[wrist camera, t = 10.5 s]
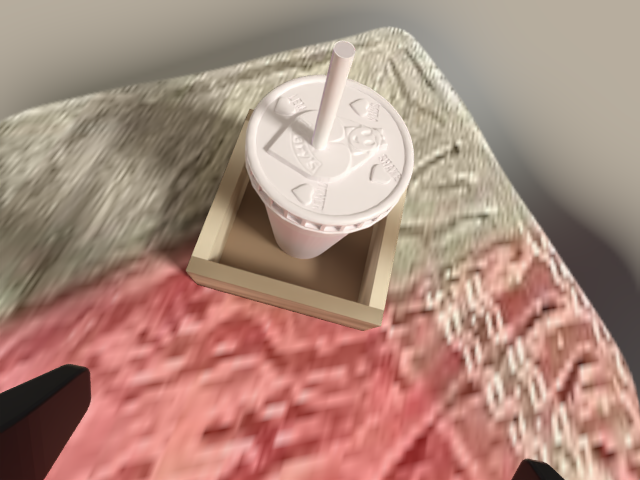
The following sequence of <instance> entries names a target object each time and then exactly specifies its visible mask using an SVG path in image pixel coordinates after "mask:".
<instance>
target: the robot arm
mask: <svg viewBox="0 0 640 480" xmlns="http://www.w3.org/2000/svg"><path fill="white" fill-rule="evenodd" d="M90 401H91V382H90V371H89V369H88V368H86V367H82V366H78V365H73V364H66V365H63V366H61V367H59V368H56V369H54V370H52V371H50V372H47V373H45V374H43V375H41V376H38V377H36V378H34V379H32V380H29V381H27V382H25V383H23V384H20V385H18V386H16V387H14V388H11V389H9V390H7V391H5V392H2V393H0V480H44V479H45V477H46V476H47V474H48V472H49V471H50V469H51V468H52V466H53V464H54V463H55V461H56V460H57V458H58V456H59V455H60V453H61V451H62V450H63V448H64V447H65V445H66V443H67V442H68V440H69V439H70V437H71V435H72V434H73V432H74V431H75V429H76V427H77V426H78V424H79V423H80V421H81V419H82V418H83V416H84V415H85V413H86V411H87V410H88V407H89V405H90ZM512 480H564V479H563V478H562V477H561V476H560V475H559V474H558V473H557V472H556V471H555V470H554V469H553V468H552V467H551V466H550V465H548V464H547V463H545V462H542V461H537V460H532V459H525V460H523V461H522V462H521V463H520V465H519V467H518V469H517V471H516V472H515V474H514V476H513V478H512Z"/></svg>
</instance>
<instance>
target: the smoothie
mask: <svg viewBox="0 0 640 480" xmlns="http://www.w3.org/2000/svg"><path fill="white" fill-rule="evenodd" d="M354 55H355V48H354V46H353V45H352V44H351V43H349V42H347V41H338V42H336V43H335V45H334V48H333V52H332V56H331V60H330V65H329V69H328V73H327V75H309V76H303V77H299V78H295V79H292V80H289V81H287V82H285V83H283V84H281V85H279V86H277V87H276V88H274V89H273V90H271V91H270V92H269V93H268V94H267V95H266V96H265V97H264V98H263V99H262V100H261V101H260V102H259V103H258V105H257V106H256V108H255V109H254V111H253V113H252V115H251V117H250V120H249V123H248V126H247V131H246V144H245V161H246V169H247V172H248V175H249V177H250V180H251V183H252V186H253V188H254V189H255V191H256V192H257V194H258V195H259V196H260V198H261V199H262V201H263V202H264V204H265V206H266V210H267V213H268V217H269V220H270V223H271V227H272V230H273V234H274V237H275V240H276V242H277V244H278V246H279V247H280V248H281V249H282V250H283V251H284V252H285V253H286V254H288V255H290V256H292V257H295V258H299V259H310V258H314V257H316V256H319V255H320V254H322V253H323V252H324V251H326V250H327V249H329V248H330V247H331V246H333V245H334V244H335V243H337V242H338V241H339V240H341V239H342V238H343V237H345V236H346V235H348V234H349V233H352V232H355V231H359V230H362V229H365V228H368V227H370V226H372V225H373V224H375V223H376V222H378V221H379V220H381V219H382V218H384V217H386V216H387V214H388V213H389V212H390V211H391V210H392V209H393V207H394V206H395V205H396V204H397V203H398V201H399V199H400V197H401V196H402V194H403V193H404V192H405V190H406V188H407V186H408V184H409V181H410V179H411V175H412V172H413V166H414V150H413V144H412V140H411V136H410V134H409V131H408V129H407V127H406V124H405V123H404V121H403V119H402V118H401V116H400V115H399V113H398V112H397V111H396V109H395V108H394V107H393V106H392V105H391V104H390V103H389V102H388V101H387V100H386V99H385V98H384V97H382V96H381V95H380V94H378V93H377V92H375V91H374V90H373V89H371V88H369V87H367V86H365V85H363V84H361V83H359V82H356V81H354V80H351V79H347V77H348V74H349V71H350V68H351V65H352V61H353V58H354Z"/></svg>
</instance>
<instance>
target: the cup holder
mask: <svg viewBox="0 0 640 480" xmlns="http://www.w3.org/2000/svg"><path fill="white" fill-rule="evenodd" d="M253 111H254V110H252V109H249V112H248V114H247V117H246V120H245V122H244V125H243V127H242V130H241V132H240V135H239V137H238V140H237V142H236V145H235V147H234V150H233V152H232V155H231V157H230V160H229V163H228V165H227V168H226V170H225V173H224V175H223V178H222V180H221V183H220V185H219V188H218V190H217V193H216V195H215V198H214V200H213V203H212V205H211V208H210V211H209V213H208V216H207V218H206V221H205V223H204V226H203V228H202V231H201V233H200V236H199V238H198V241H197V243H196V246H195V248H194V251H193V254H192V256H191V259H190V261H189V264H188V266H187V269H186V272H187V273H188V274H189V275H190V277H191V278H192V279H193V280H194V281H195V282H196V283H197V285H200V286H204V287H207V288H211V289H215V290H218V291H222V292H225V293H229V294H232V295H236V296H240V297H243V298H247V299H250V300H254V301H257V302H261V303H265V304H268V305H272V306H275V307H279V308H283V309H286V310H290V311H293V312H297V313H300V314H304V315H308V316H311V317H315V318H318V319H322V320H325V321H329V322H333V323H336V324H340V325H343V326H347V327H350V328H354V329H358V330H361V331H364V330H368V329H372V328H375V327H379V326H381V323H382V318H383V313H384V307H385V302H386V297H387V292H388V286H389V281H390V276H391V271H392V265H393V260H394V255H395V250H396V244H397V239H398V234H399V229H400V223H401V218H402V213H403V208H404V202H405V197H406V192H407V188H406V190H405V192H404V193H403V194H402V196H401V197H400V199H399V201H398V203H397V204H396V205H395V206H394V207H393V209H392V210H391V211H390V212H389V213H388V214H387V216H386V217H384V218H382V219H381V220H379V221H378V222H376V223H375V224H373V225H372V226H370V227H368V228H365V229H362V230H359V231H355V232H352V233H349V234H348V235H346V236H345V237H343V238H342V239H341V240H339V241H338V242H337V243H335V244H334V245H333V246H331V247H330V248H329V249H327V250H326V251H324V252H323V253H322V254H320V255H319V256H316V257H314V258H310V259H299V258H295V257H292V256H290V255H288V254H286V253H285V252H284V251H283V250H282V249H281V248H280V247H279V246H278V244H277V242H276V240H275V237H274V234H273V230H272V227H271V223H270V220H269V217H268V213H267V210H266V206H265V204H264V202H263V201H262V199H261V198H260V196H259V195H258V194H257V192H256V191H255V189H254V188H253V186H252V183H251V180H250V177H249V175H248V172H247V169H246V161H245V144H246V131H247V126H248V123H249V120H250V117H251V115H252V113H253ZM407 187H408V186H407Z"/></svg>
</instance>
